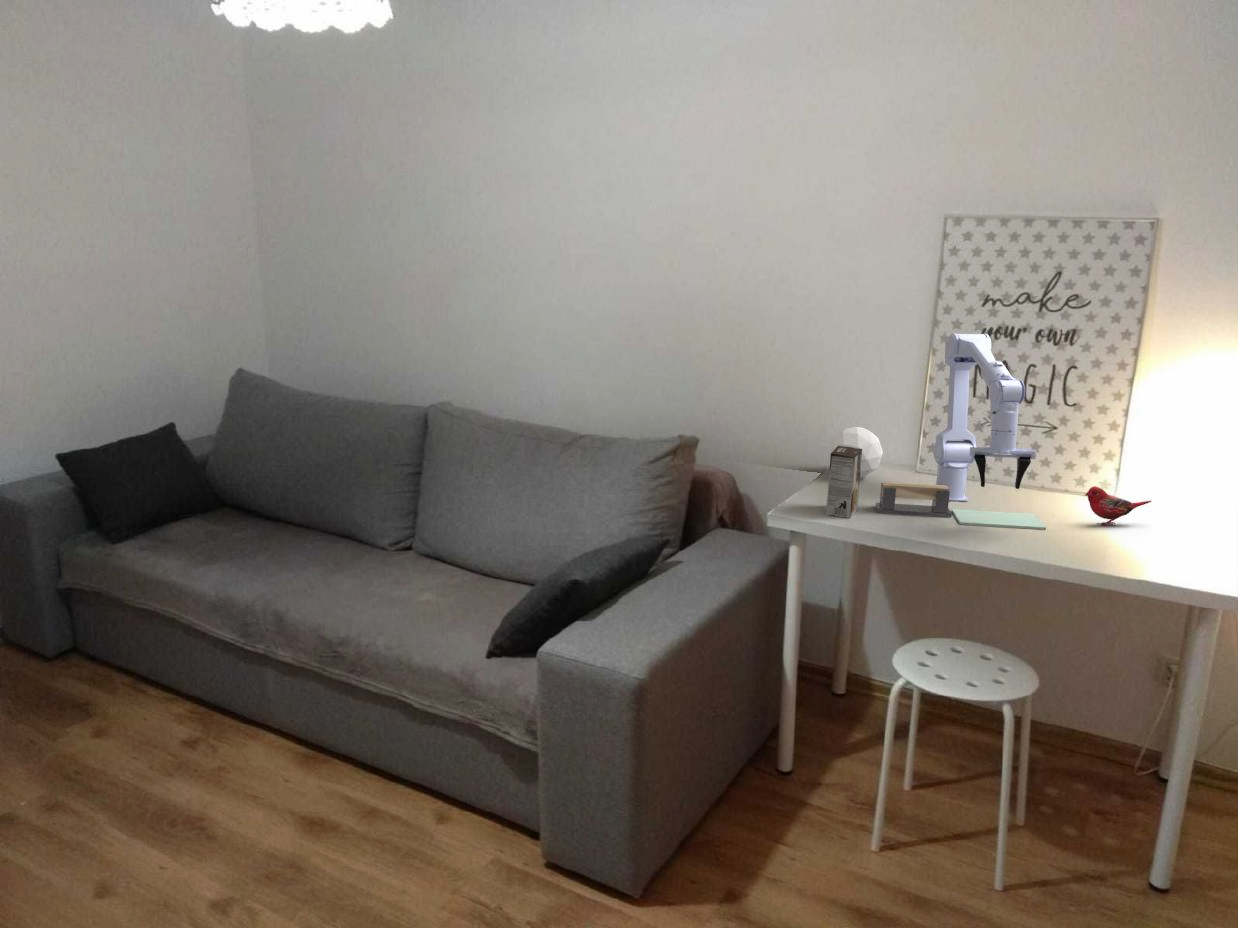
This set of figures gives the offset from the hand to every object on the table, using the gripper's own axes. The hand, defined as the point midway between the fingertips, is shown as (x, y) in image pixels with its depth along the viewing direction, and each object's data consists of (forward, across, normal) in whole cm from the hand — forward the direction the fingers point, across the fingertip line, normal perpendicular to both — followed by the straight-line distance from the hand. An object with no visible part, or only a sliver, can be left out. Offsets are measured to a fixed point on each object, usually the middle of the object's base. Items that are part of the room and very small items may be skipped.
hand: (999, 487), depth 225 cm
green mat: (+10, +1, +9) cm, 13 cm away
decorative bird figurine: (+10, +28, +15) cm, 34 cm away
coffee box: (+9, -37, +3) cm, 38 cm away
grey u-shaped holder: (+9, -19, +9) cm, 23 cm away
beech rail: (+5, -19, +9) cm, 22 cm away
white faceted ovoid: (+6, -34, +37) cm, 51 cm away
